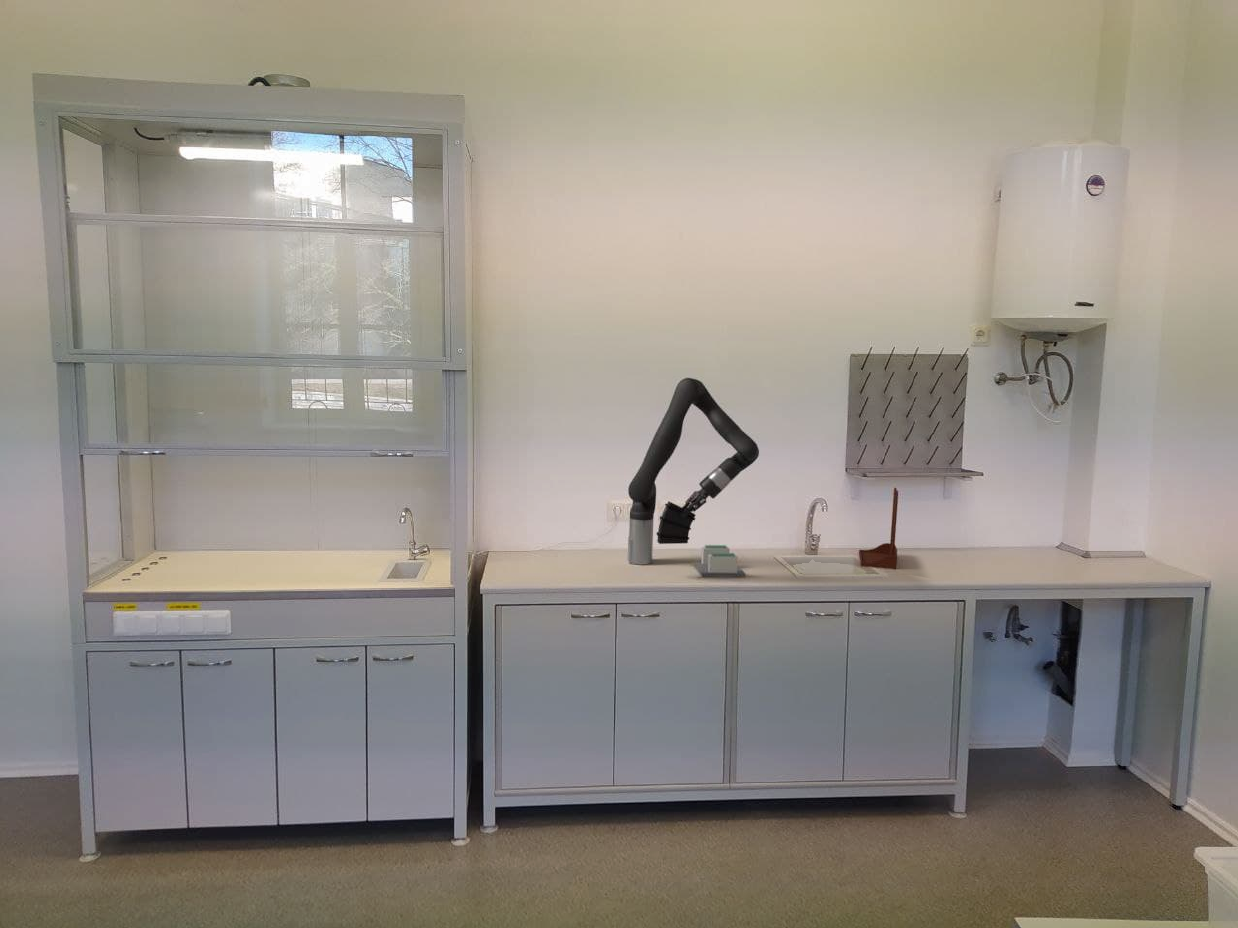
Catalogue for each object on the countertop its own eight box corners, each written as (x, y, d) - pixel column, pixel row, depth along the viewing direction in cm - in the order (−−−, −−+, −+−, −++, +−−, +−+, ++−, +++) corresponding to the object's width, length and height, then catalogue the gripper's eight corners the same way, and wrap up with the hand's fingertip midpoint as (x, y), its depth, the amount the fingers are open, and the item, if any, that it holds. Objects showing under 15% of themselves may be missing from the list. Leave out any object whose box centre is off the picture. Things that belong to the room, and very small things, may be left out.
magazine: (648, 537, 277) (667, 500, 276) (679, 552, 280) (698, 515, 280) (650, 539, 273) (670, 502, 273) (682, 554, 277) (701, 517, 276)
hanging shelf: (858, 553, 325) (863, 483, 322) (891, 556, 322) (896, 485, 319) (861, 566, 302) (865, 491, 299) (896, 569, 299) (901, 493, 295)
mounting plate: (701, 577, 279) (702, 554, 278) (693, 565, 295) (694, 544, 295) (745, 577, 280) (746, 555, 279) (734, 565, 297) (735, 544, 296)
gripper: (704, 472, 283) (670, 504, 283) (712, 477, 268) (676, 511, 269) (718, 487, 284) (684, 519, 284) (726, 493, 270) (691, 526, 270)
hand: (680, 515), depth 276 cm, fingers closed on magazine, 4 cm apart
